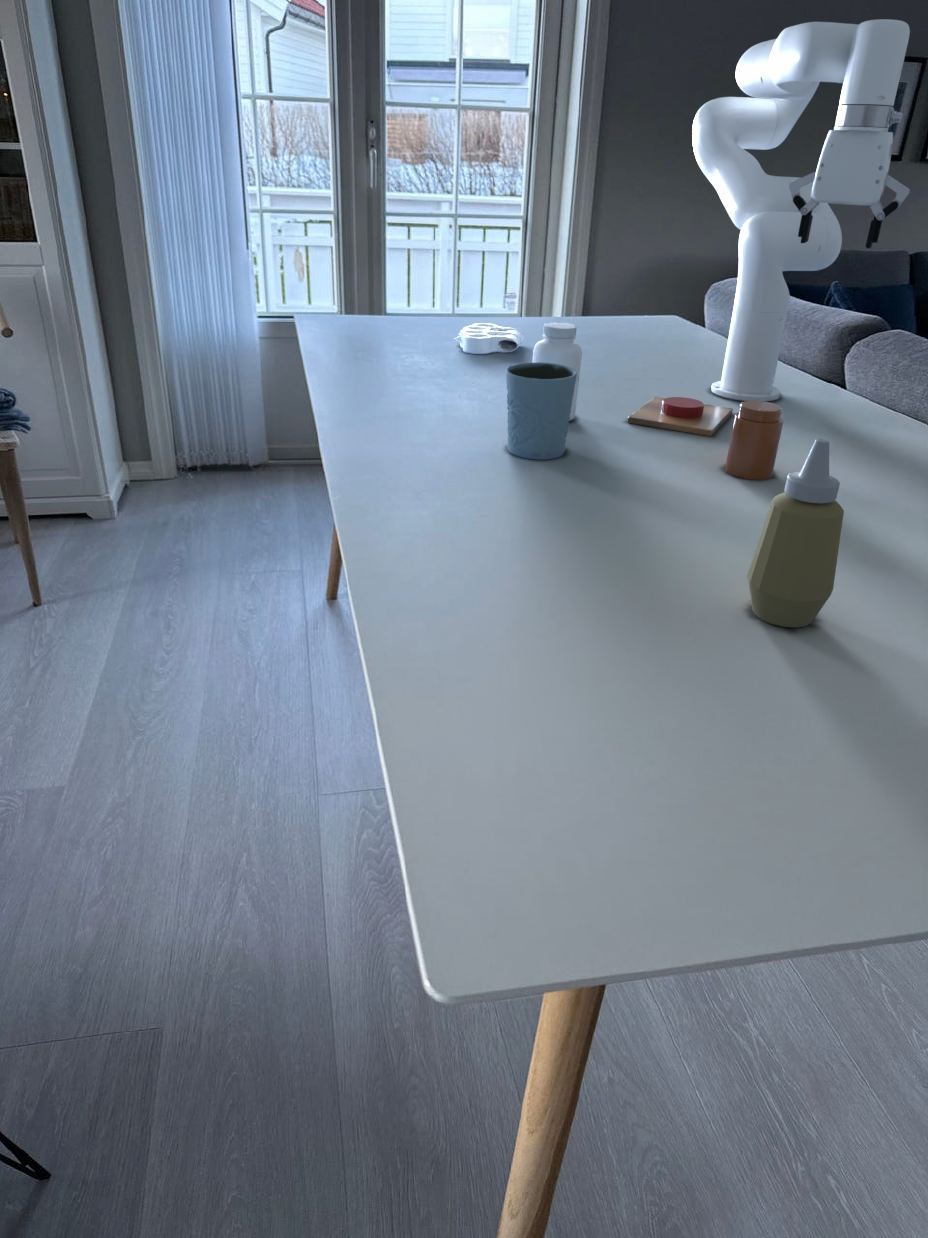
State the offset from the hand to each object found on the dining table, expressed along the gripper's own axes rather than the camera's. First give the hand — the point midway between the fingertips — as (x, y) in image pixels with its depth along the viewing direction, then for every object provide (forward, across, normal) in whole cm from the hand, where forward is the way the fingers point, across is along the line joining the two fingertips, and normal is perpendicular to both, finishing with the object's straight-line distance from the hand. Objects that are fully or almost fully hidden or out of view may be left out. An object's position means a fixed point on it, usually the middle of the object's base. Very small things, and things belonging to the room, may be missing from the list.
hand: (835, 244), depth 141 cm
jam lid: (+26, +18, +9) cm, 33 cm away
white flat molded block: (+28, +71, -25) cm, 80 cm away
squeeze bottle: (+28, -10, +76) cm, 82 cm away
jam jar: (+28, +2, +32) cm, 43 cm away
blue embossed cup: (+28, +32, +40) cm, 59 cm away
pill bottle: (+28, +37, +21) cm, 51 cm away
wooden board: (+28, +18, +9) cm, 35 cm away
